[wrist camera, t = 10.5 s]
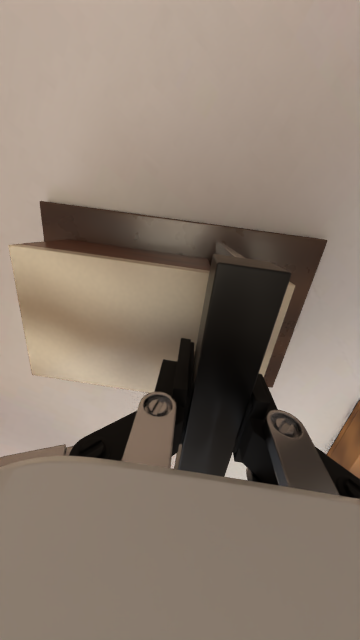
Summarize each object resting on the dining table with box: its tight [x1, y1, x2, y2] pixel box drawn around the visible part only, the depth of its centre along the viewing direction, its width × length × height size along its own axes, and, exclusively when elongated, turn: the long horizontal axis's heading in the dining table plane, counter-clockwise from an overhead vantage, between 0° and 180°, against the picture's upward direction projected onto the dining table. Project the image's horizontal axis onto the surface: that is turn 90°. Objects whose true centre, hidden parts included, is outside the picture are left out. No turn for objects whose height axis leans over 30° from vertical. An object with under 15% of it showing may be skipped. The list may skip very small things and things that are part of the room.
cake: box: [9, 201, 327, 393], centre depth 17 cm, size 14×22×7 cm, turn 83°
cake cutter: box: [174, 242, 291, 477], centre depth 13 cm, size 12×2×10 cm, turn 173°
